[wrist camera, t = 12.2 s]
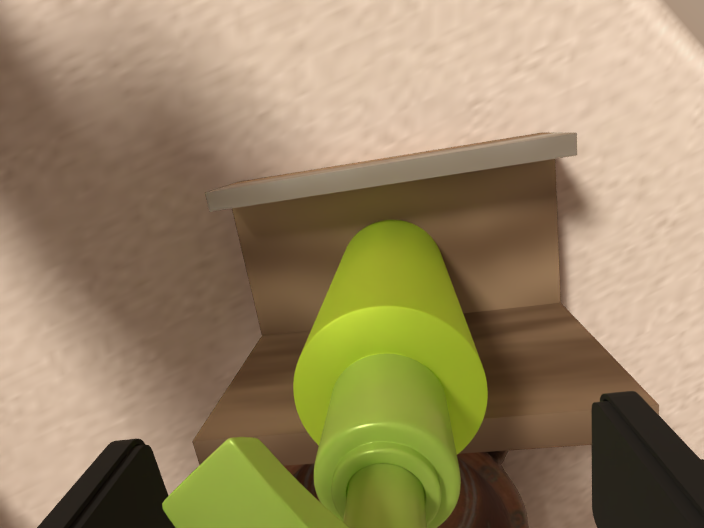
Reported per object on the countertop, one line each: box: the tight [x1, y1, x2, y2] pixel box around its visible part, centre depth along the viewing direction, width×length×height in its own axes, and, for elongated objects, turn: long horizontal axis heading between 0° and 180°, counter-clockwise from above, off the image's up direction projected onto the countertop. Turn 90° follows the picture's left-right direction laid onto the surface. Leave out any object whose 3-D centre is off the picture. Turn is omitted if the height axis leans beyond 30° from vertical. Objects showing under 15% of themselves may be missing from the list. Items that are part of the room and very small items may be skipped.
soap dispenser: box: [162, 220, 488, 528], centre depth 16 cm, size 6×7×20 cm
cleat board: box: [193, 133, 659, 466], centre depth 22 cm, size 11×18×12 cm, turn 99°
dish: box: [284, 450, 528, 528], centre depth 31 cm, size 18×22×5 cm
